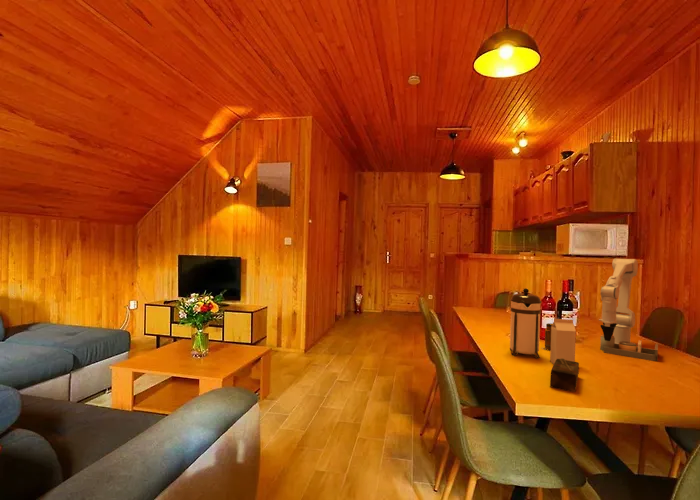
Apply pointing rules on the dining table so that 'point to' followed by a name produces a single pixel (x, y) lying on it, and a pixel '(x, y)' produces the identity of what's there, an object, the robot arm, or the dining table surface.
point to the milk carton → (562, 340)
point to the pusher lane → (645, 352)
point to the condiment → (548, 336)
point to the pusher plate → (639, 346)
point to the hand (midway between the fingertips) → (608, 339)
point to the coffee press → (525, 324)
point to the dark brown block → (564, 375)
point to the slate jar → (607, 343)
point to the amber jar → (627, 346)
